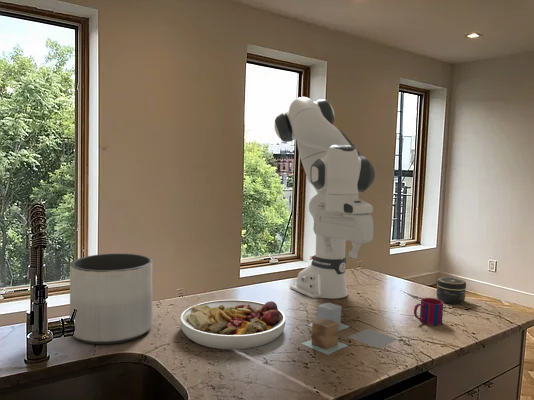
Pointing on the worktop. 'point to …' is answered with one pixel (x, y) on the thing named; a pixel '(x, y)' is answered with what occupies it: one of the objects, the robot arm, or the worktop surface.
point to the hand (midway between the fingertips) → (340, 255)
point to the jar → (451, 290)
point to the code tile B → (339, 326)
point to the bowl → (232, 323)
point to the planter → (111, 297)
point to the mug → (430, 311)
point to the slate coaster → (372, 338)
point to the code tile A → (328, 351)
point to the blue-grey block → (329, 312)
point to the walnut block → (325, 333)
